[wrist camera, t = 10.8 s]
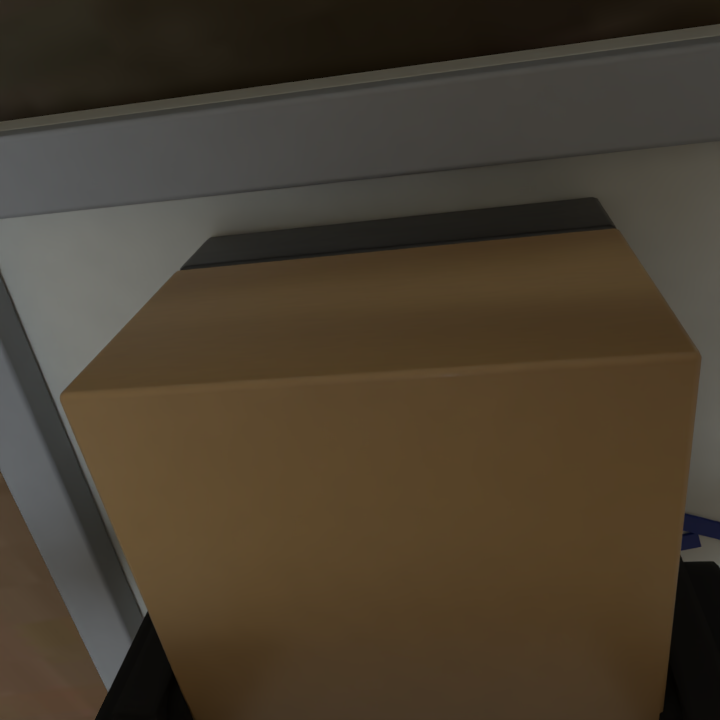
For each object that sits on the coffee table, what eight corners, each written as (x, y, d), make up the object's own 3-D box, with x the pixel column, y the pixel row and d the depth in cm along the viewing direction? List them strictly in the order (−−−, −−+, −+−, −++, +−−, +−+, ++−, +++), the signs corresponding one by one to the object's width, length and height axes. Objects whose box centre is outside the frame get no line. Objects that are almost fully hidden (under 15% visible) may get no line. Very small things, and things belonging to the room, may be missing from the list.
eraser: (206, 235, 9) (54, 395, 6) (598, 193, 8) (705, 352, 5) (338, 737, 14) (300, 982, 11) (585, 744, 13) (632, 1012, 10)
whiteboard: (-62, 129, 10) (-155, 157, 9) (1718, -113, 7) (2105, -142, 5) (236, 846, 19) (218, 922, 18) (1038, 897, 16) (1101, 995, 15)
